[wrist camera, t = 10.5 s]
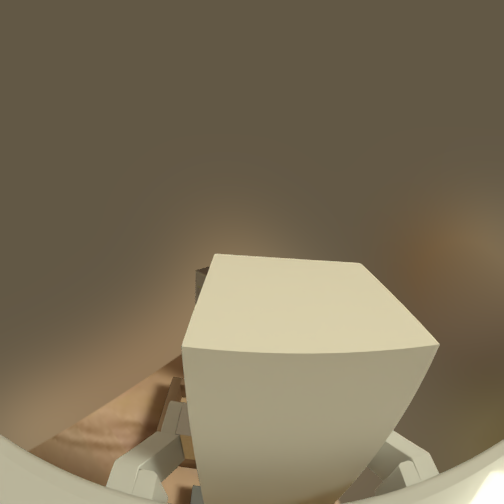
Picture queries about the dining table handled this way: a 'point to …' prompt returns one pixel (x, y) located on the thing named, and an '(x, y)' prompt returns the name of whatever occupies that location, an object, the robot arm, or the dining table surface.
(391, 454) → the robot arm
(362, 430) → the off-white box
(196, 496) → the blue-grey square slab
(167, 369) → the dining table surface
